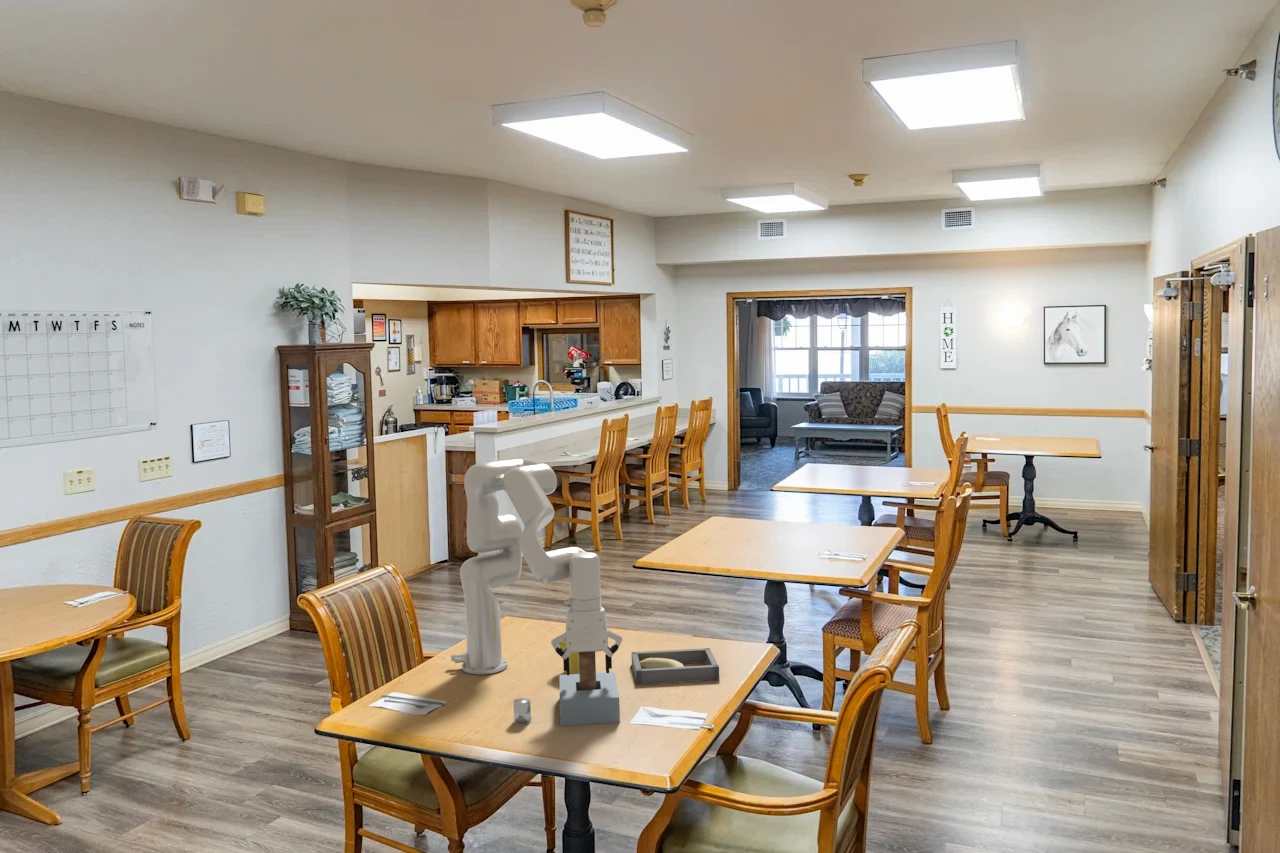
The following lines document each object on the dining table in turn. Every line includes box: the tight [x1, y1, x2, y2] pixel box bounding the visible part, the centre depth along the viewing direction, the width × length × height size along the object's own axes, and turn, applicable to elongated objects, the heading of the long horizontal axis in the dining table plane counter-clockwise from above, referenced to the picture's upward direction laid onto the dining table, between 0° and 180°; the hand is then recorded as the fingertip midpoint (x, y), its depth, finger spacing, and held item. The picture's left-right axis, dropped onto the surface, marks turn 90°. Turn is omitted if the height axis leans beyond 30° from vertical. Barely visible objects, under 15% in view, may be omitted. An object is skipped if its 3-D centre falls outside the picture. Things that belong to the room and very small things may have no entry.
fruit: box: [640, 658, 685, 669], centre depth 259 cm, size 7×15×3 cm, turn 44°
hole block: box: [559, 671, 621, 726], centre depth 232 cm, size 14×18×6 cm
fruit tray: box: [631, 647, 720, 685], centre depth 258 cm, size 22×16×4 cm
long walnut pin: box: [579, 652, 597, 691], centre depth 232 cm, size 4×4×15 cm
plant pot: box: [558, 639, 579, 674], centre depth 261 cm, size 10×10×10 cm
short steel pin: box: [512, 697, 532, 726], centre depth 226 cm, size 4×4×5 cm
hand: (587, 672), depth 232 cm, fingers open, 9 cm apart
